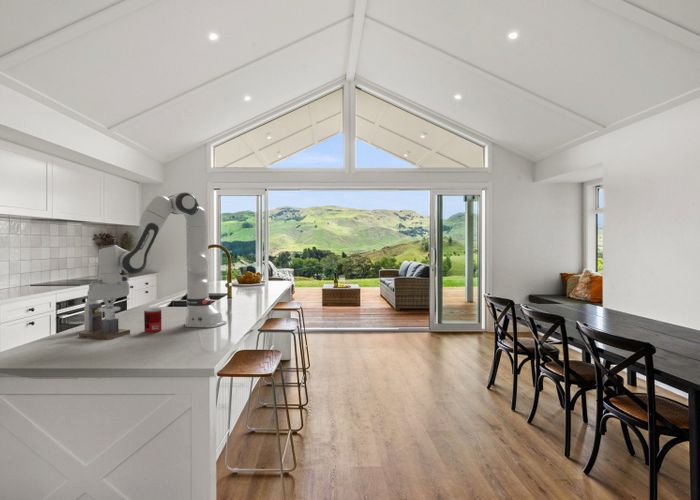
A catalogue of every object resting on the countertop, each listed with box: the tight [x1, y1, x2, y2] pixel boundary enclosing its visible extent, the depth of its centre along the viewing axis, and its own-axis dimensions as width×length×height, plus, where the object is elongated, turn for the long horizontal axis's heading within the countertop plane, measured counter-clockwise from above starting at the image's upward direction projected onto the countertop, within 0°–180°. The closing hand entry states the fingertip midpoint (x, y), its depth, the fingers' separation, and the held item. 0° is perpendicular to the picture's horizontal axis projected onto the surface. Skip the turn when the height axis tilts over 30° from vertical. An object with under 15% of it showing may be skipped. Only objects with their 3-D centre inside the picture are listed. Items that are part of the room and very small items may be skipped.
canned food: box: [143, 307, 162, 334], centre depth 215 cm, size 8×8×11 cm
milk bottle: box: [83, 298, 103, 331], centre depth 218 cm, size 8×8×20 cm
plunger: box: [96, 306, 121, 320], centre depth 206 cm, size 11×6×8 cm, turn 70°
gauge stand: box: [78, 302, 131, 341], centre depth 206 cm, size 18×13×15 cm
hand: (109, 307), depth 205 cm, fingers closed, pressing on plunger
